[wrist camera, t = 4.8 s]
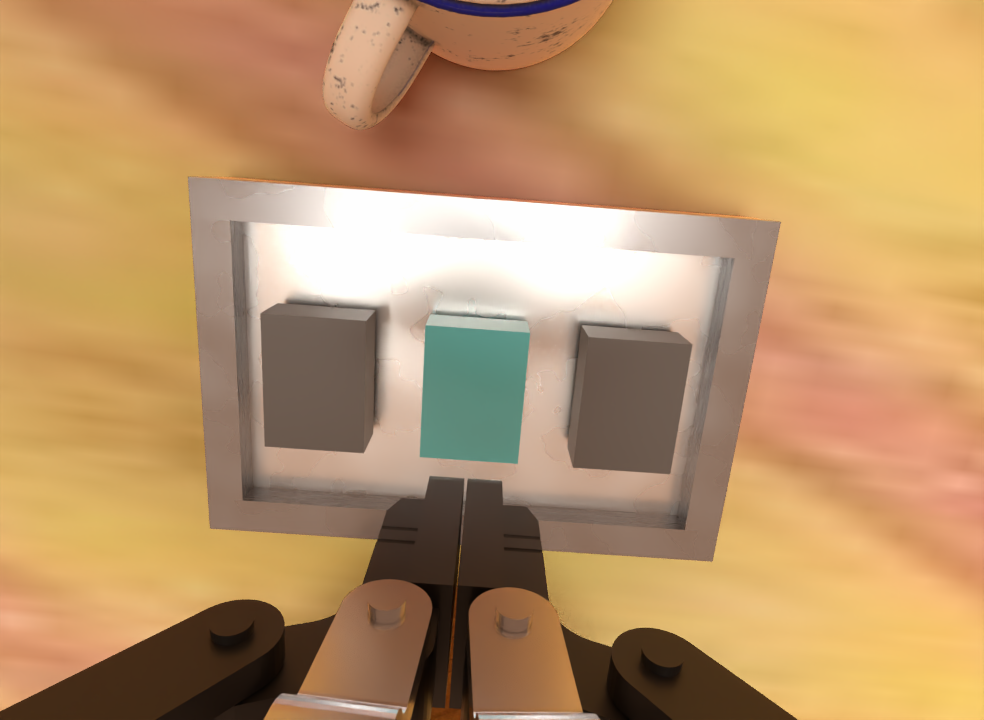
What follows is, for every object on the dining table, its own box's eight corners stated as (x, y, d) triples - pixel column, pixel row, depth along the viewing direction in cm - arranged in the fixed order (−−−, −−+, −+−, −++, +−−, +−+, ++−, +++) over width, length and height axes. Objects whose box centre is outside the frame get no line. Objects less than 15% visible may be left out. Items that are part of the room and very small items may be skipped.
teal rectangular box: (430, 314, 20) (425, 325, 19) (527, 321, 20) (530, 332, 19) (424, 437, 22) (419, 457, 20) (516, 443, 22) (517, 463, 20)
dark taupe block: (581, 325, 20) (589, 337, 19) (677, 331, 20) (692, 344, 19) (567, 447, 22) (573, 467, 20) (657, 453, 22) (670, 474, 20)
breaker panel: (229, 176, 21) (188, 176, 18) (742, 216, 22) (780, 221, 19) (242, 488, 25) (209, 528, 22) (687, 517, 25) (712, 561, 22)
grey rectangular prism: (278, 303, 20) (260, 313, 19) (375, 310, 20) (366, 320, 19) (281, 427, 21) (264, 446, 20) (373, 433, 21) (363, 453, 20)
